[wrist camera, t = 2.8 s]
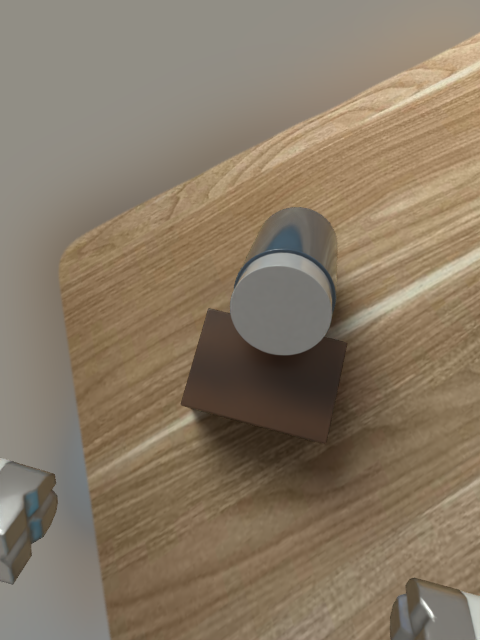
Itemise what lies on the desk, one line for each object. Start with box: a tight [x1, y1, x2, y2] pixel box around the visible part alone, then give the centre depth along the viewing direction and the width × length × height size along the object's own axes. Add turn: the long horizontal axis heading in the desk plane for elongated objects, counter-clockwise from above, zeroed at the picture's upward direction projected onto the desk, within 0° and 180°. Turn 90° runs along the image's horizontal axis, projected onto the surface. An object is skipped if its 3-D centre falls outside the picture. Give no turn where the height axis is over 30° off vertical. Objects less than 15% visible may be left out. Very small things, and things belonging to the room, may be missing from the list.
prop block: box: [181, 308, 347, 444], centre depth 33 cm, size 7×10×5 cm
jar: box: [230, 207, 338, 355], centre depth 31 cm, size 12×6×12 cm, turn 165°
